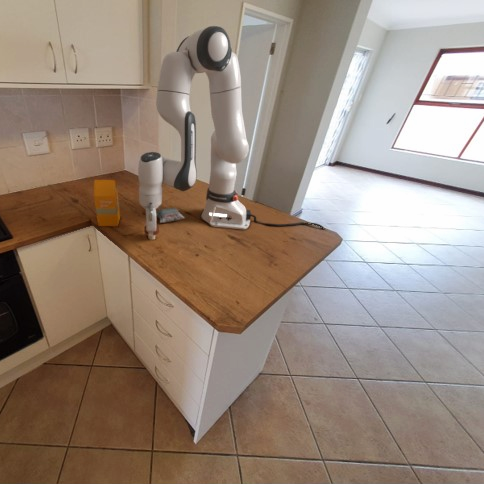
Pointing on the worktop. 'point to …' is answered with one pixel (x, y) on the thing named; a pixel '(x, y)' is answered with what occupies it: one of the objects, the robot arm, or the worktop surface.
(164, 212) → the packaged food
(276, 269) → the worktop surface
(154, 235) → the brown stepped knob
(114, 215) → the orange juice
